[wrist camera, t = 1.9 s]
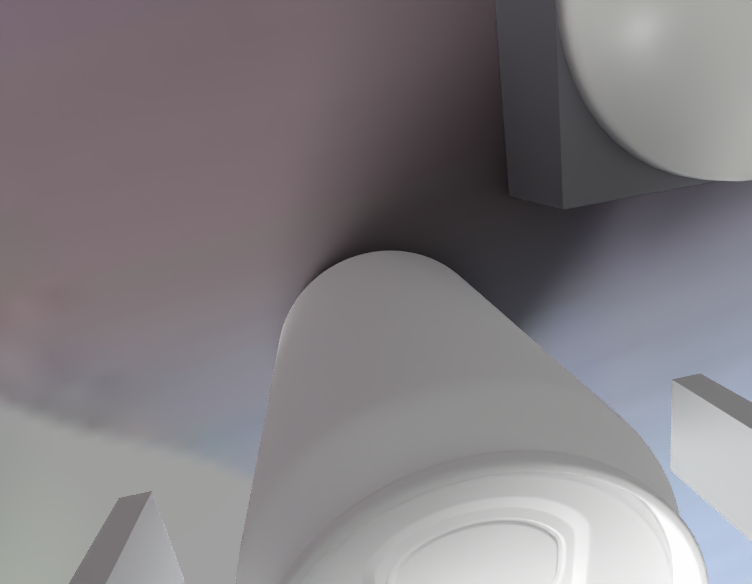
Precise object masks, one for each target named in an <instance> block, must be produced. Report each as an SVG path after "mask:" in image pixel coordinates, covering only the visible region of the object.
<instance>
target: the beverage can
mask: <svg viewBox="0 0 752 584" xmlns="http://www.w3.org/2000/svg"><path fill="white" fill-rule="evenodd" d="M236 584H709V583H708V575H707V570H706V566H705V562H704V559H703V556H702V553H701V551H700V548H699V546H698V544H697V542H696V540H695V538H694V536H693V534H692V533H691V531H690V529H689V528H688V526H687V525H686V524H685V522H684V521H683V520H682V518H681V517H680V516H679V511H678V507H677V503H676V500H675V497H674V494H673V491H672V488H671V486H670V483H669V481H668V478H667V476H666V474H665V472H664V470H663V468H662V467H661V465H660V463H659V461H658V460H657V458H656V456H655V455H654V453H653V452H652V451H651V449H650V448H649V446H648V445H647V444H646V443H645V441H644V440H643V439H642V437H641V436H640V435H639V434H638V433H637V432H636V431H635V430H634V429H633V428H632V427H631V426H630V425H629V424H628V423H627V422H626V421H625V420H624V419H623V418H622V417H620V416H619V415H618V414H617V413H616V412H615V411H614V410H613V409H611V408H610V407H609V406H608V405H607V404H606V403H605V402H603V401H602V400H601V399H600V398H599V397H598V396H597V395H595V394H594V393H593V392H592V391H591V390H590V389H589V388H587V387H586V386H585V385H584V384H583V383H582V382H581V381H579V380H578V379H577V378H576V377H575V376H574V375H572V374H571V373H570V372H569V371H568V370H567V369H566V368H564V367H563V366H562V365H561V364H560V363H559V362H558V361H556V360H555V359H554V358H553V357H552V356H551V355H550V354H548V353H547V352H546V351H545V350H544V349H543V348H542V347H540V346H539V345H538V344H537V343H536V342H535V341H534V340H532V339H531V338H530V337H529V336H528V335H527V334H526V333H524V332H523V331H522V330H521V329H520V328H519V327H518V326H516V325H515V324H514V323H513V322H512V321H511V320H510V319H508V318H507V317H506V316H505V315H504V314H503V313H502V312H500V311H499V310H498V309H497V308H496V307H495V306H494V305H492V304H491V303H490V302H489V301H488V300H487V299H486V298H484V297H483V296H482V295H481V294H480V293H479V292H478V291H476V290H475V289H474V288H473V287H472V286H471V285H470V284H468V283H467V282H466V281H465V280H464V279H463V278H461V277H460V276H459V275H458V274H457V273H455V272H454V271H453V270H451V269H450V268H448V267H447V266H445V265H444V264H442V263H440V262H438V261H436V260H434V259H431V258H429V257H426V256H423V255H420V254H416V253H411V252H405V251H376V252H370V253H365V254H361V255H357V256H354V257H351V258H349V259H346V260H344V261H342V262H340V263H338V264H336V265H334V266H332V267H330V268H329V269H327V270H326V271H324V272H323V273H321V274H320V275H319V276H318V277H316V278H315V279H314V280H313V281H312V282H311V283H310V284H309V285H308V286H307V287H306V288H305V289H304V290H303V291H302V293H301V294H300V295H299V296H298V298H297V299H296V301H295V302H294V304H293V305H292V307H291V309H290V311H289V313H288V315H287V317H286V320H285V322H284V325H283V328H282V332H281V336H280V341H279V346H278V351H277V357H276V362H275V367H274V373H273V378H272V383H271V388H270V394H269V399H268V404H267V410H266V415H265V420H264V425H263V431H262V436H261V441H260V447H259V452H258V457H257V462H256V468H255V473H254V478H253V484H252V489H251V494H250V500H249V505H248V510H247V515H246V521H245V526H244V531H243V536H242V542H241V548H240V553H239V558H238V565H237V572H236Z"/></svg>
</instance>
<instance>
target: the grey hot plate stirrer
mask: <svg viewBox="0 0 752 584" xmlns="http://www.w3.org/2000/svg"><path fill="white" fill-rule="evenodd" d="M495 10H496V24H497V37H498V51H499V65H500V79H501V92H502V106H503V120H504V133H505V147H506V161H507V174H508V188H509V197H513V198H517V199H521V200H525V201H530V202H534V203H538V204H542V205H546V206H550V207H554V208H558V209H562V210H564V209H570V208H575V207H580V206H586V205H591V204H597V203H602V202H607V201H613V200H618V199H624V198H629V197H634V196H640V195H645V194H651V193H656V192H661V191H667V190H672V189H677V188H683V187H688V186H694V185H699V184H704V183H710V182H715V181H747V180H752V0H495Z"/></svg>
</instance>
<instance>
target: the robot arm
mask: <svg viewBox="0 0 752 584" xmlns="http://www.w3.org/2000/svg"><path fill="white" fill-rule="evenodd" d="M670 470H671V471H672V472H673V473H674V474H676V475H677V476H678V477H679V478H680V479H681V480H682V481H684V482H685V483H686V484H687V485H688V486H689V487H690V488H691V489H693V490H694V491H695V492H696V493H697V494H698V495H699V496H700V497H702V498H703V499H704V500H705V501H706V502H707V503H708V504H710V505H711V506H712V507H713V508H714V509H715V510H716V511H717V512H719V513H720V514H721V515H722V516H723V517H724V518H725V519H726V520H728V521H729V522H730V523H731V524H732V525H733V526H734V527H736V528H737V529H738V530H739V531H740V532H741V533H742V534H743V535H745V536H746V537H747V538H748V539H749V540H750V541H751V542H752V402H750V401H748V400H746V399H745V398H743V397H741V396H739V395H737V394H736V393H734V392H732V391H730V390H729V389H727V388H725V387H723V386H721V385H720V384H718V383H716V382H714V381H713V380H711V379H709V378H707V377H705V376H704V375H702V374H696V375H692V376H687V377H682V378H678V379H673V380H672V419H671V464H670ZM69 584H184V578H183V575H182V573H181V570H180V567H179V564H178V561H177V559H176V556H175V553H174V550H173V548H172V545H171V542H170V539H169V537H168V534H167V531H166V528H165V526H164V523H163V520H162V517H161V515H160V512H159V509H158V506H157V504H156V501H155V498H154V495H153V493H152V491H150V492H145V493H141V494H136V495H131V496H127V497H122V498H119V499H118V501H117V503H116V504H115V506H114V508H113V509H112V511H111V513H110V514H109V516H108V518H107V520H106V521H105V523H104V525H103V526H102V528H101V530H100V531H99V533H98V535H97V537H96V538H95V540H94V542H93V543H92V545H91V547H90V549H89V550H88V552H87V554H86V556H85V557H84V559H83V561H82V562H81V564H80V566H79V567H78V569H77V571H76V572H75V574H74V576H73V578H72V579H71V581H70V583H69Z"/></svg>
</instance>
